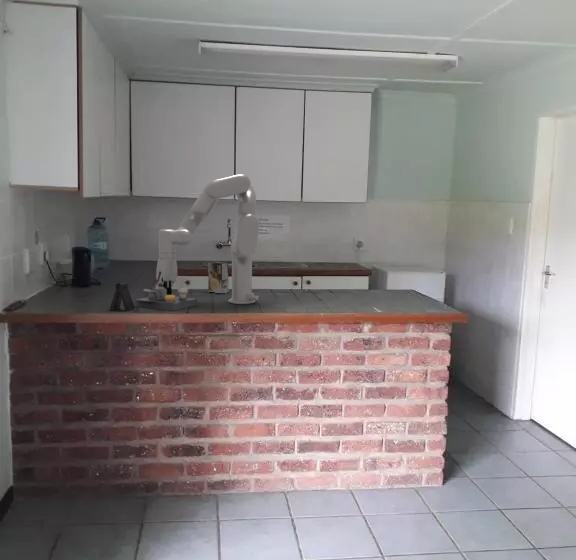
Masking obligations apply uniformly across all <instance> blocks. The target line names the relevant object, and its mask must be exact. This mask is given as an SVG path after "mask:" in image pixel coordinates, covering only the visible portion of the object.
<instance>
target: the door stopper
mask: <svg viewBox="0 0 576 560" xmlns="http://www.w3.org/2000/svg"><path fill="white" fill-rule="evenodd" d="M114 288H115V291H114V295H113V298H112V302H111V305H110V307H109V311H113V312H115V311H116V312H130V311H133V310H135V309H136V306H135V303H134V302H133V298H132V296H131V293H130V290H129V283H128V282H127V281H121V282H117V283H116V284H115V287H114ZM121 304H123V306H122V307H121Z"/></svg>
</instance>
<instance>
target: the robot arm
mask: <svg viewBox="0 0 576 560" xmlns="http://www.w3.org/2000/svg"><path fill="white" fill-rule="evenodd" d="M200 192H201V193H200V194H199V196H198V197H197V199H196V200H195V201H194V202H193V204H192V206H191V207H190V209H189V210H188V212H187V214H186V215H185V217H184V218H183V219H182V221H181V223H180V224H179V225H178V228H177V229H172V228H161V229H159V231H158V259H157V264H156V272H155V273H156V274H155V276H156V278H155V279H156V281H158V284H159V285H162V287H165V289H167V295H173V293H172V288H173V285H174V283H176V282H177V279H178V264H177V263H178V262H177V259H176V258H177V255H176V254H177V253H176V252H177V251H176V249H177V248H176V247H177V245H179V246H189V245H190V244H191V243H192V242H193V240H194V234H195V231H197V228H198V227H199V226H200V225H201V224H202V222H204V221H205V220H206V219H207V218H209V216H210V215H211V213H212V211H213V209H214V208H215V207H216V205H217V203H218V202H219V200H220V199H222V198H227V197H230V196H231V197H232V196H235V195H236V197H237V210H236V217H235V222H234V223H235V227H236V230H237V236H236V237H235V238H234V239H232V242H231V245H230V252H231V255H230V256H231V298H229V299H228V303H229V304H230V303H231V304H234V305H235V304H236V305H248V304H249V305H250V304H254V303H256V301H258V300H259V295H255V293H254V292H253V257H252V256H253V255H254V254H255V252H256V250H257V245H258V238H259V230H260V222H259V218H257V216H256V209H257V208H256V205H257V197H256V192H255V190H254V187H253V186H252V185H251V179H250V178H249V176H248V175H247V174H244V173H239V174H234V175H230V176H226V177H223V178H218V179H211V180H209V181H208V182H207V183H206V184H205V186H204V188H203V189H202V191H200Z"/></svg>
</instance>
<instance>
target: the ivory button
mask: <svg viewBox="0 0 576 560" xmlns="http://www.w3.org/2000/svg"><path fill="white" fill-rule="evenodd" d="M188 293H189V291H188V287H178V288H177V294H178V297H179V300H186V298H187V294H188Z"/></svg>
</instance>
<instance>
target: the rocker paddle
mask: <svg viewBox="0 0 576 560" xmlns="http://www.w3.org/2000/svg"><path fill="white" fill-rule="evenodd" d="M143 292H147V293H148V295H149V294H153V295H157V289H148V288H144V289H143Z"/></svg>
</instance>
